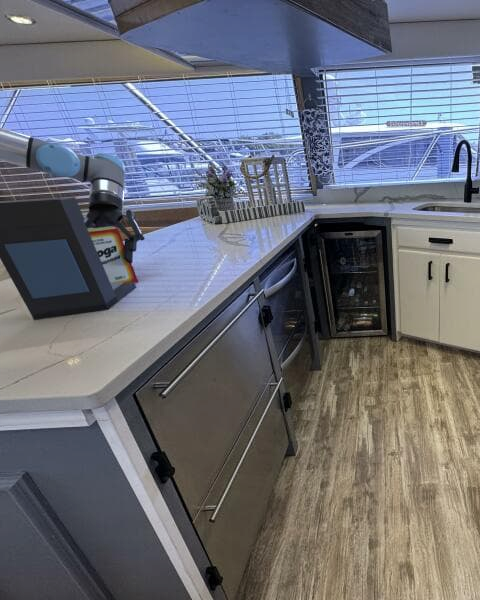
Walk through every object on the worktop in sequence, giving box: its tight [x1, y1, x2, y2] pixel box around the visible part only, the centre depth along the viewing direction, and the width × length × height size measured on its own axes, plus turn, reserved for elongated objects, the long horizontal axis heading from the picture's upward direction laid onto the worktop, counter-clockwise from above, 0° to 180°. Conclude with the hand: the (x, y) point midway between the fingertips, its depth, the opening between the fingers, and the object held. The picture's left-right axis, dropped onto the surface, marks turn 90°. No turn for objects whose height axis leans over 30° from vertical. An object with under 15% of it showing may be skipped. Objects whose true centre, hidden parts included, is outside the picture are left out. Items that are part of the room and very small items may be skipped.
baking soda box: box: [87, 226, 139, 284], centre depth 90 cm, size 10×6×16 cm
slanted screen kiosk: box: [0, 196, 137, 321], centre depth 76 cm, size 14×16×25 cm
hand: (102, 263), depth 88 cm, fingers closed on baking soda box, 11 cm apart
